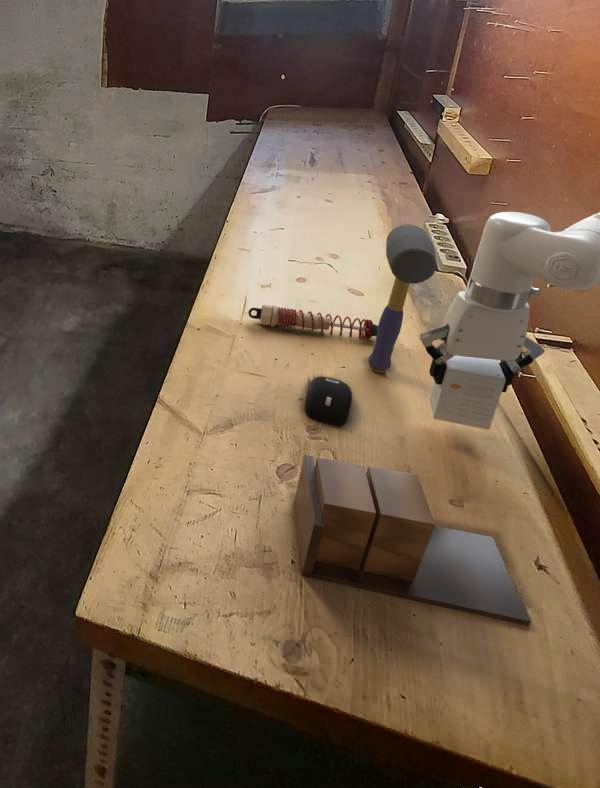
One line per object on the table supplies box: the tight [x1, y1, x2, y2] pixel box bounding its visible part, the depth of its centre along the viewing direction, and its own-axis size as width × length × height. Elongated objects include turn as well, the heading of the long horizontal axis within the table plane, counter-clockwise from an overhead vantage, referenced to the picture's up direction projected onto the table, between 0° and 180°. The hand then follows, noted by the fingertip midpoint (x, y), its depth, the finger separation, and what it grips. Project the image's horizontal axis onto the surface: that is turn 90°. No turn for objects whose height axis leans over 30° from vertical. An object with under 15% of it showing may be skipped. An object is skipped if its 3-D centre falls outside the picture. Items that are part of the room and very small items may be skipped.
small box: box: [429, 355, 506, 431], centre depth 94 cm, size 8×6×10 cm
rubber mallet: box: [367, 224, 438, 374], centre depth 107 cm, size 12×8×30 cm, turn 156°
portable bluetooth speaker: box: [304, 376, 353, 426], centre depth 104 cm, size 8×12×4 cm, turn 150°
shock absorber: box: [248, 303, 378, 341], centre depth 125 cm, size 5×5×30 cm
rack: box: [293, 454, 532, 626], centre depth 74 cm, size 26×12×12 cm, turn 74°
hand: (467, 382), depth 93 cm, fingers closed on small box, 8 cm apart
